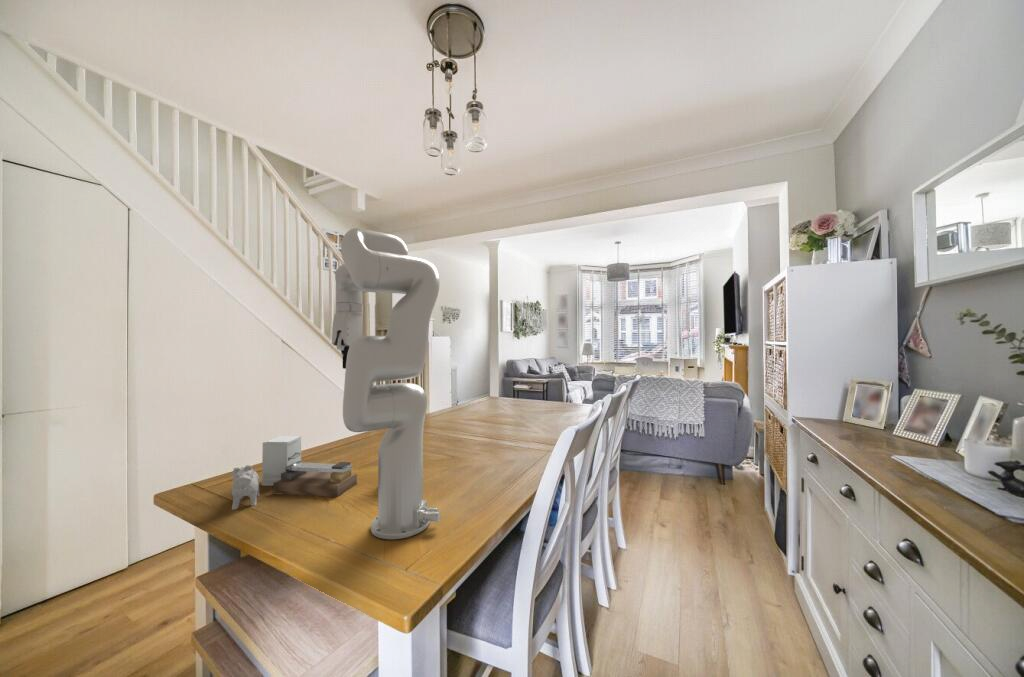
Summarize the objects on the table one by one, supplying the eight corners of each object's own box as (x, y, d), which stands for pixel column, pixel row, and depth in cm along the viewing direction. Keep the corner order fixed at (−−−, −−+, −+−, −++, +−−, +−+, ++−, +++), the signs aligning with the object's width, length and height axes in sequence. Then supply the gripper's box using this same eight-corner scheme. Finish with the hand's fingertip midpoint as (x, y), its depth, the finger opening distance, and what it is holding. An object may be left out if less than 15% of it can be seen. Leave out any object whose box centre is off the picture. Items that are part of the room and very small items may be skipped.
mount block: (356, 483, 104) (356, 465, 104) (337, 496, 95) (337, 476, 95) (297, 481, 106) (297, 462, 107) (273, 493, 98) (273, 473, 98)
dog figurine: (228, 517, 85) (228, 471, 85) (236, 497, 95) (236, 457, 96) (255, 511, 87) (255, 467, 87) (260, 492, 98) (260, 453, 98)
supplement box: (286, 486, 103) (286, 442, 103) (261, 486, 103) (261, 442, 103) (302, 476, 110) (302, 435, 110) (278, 476, 110) (278, 435, 111)
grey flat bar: (352, 468, 102) (352, 462, 102) (342, 474, 97) (342, 467, 97) (297, 466, 104) (297, 459, 104) (285, 471, 100) (285, 464, 100)
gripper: (351, 312, 120) (351, 366, 119) (322, 307, 105) (322, 370, 105) (372, 311, 119) (372, 366, 118) (346, 307, 104) (346, 370, 104)
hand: (348, 368), depth 111 cm, fingers closed
